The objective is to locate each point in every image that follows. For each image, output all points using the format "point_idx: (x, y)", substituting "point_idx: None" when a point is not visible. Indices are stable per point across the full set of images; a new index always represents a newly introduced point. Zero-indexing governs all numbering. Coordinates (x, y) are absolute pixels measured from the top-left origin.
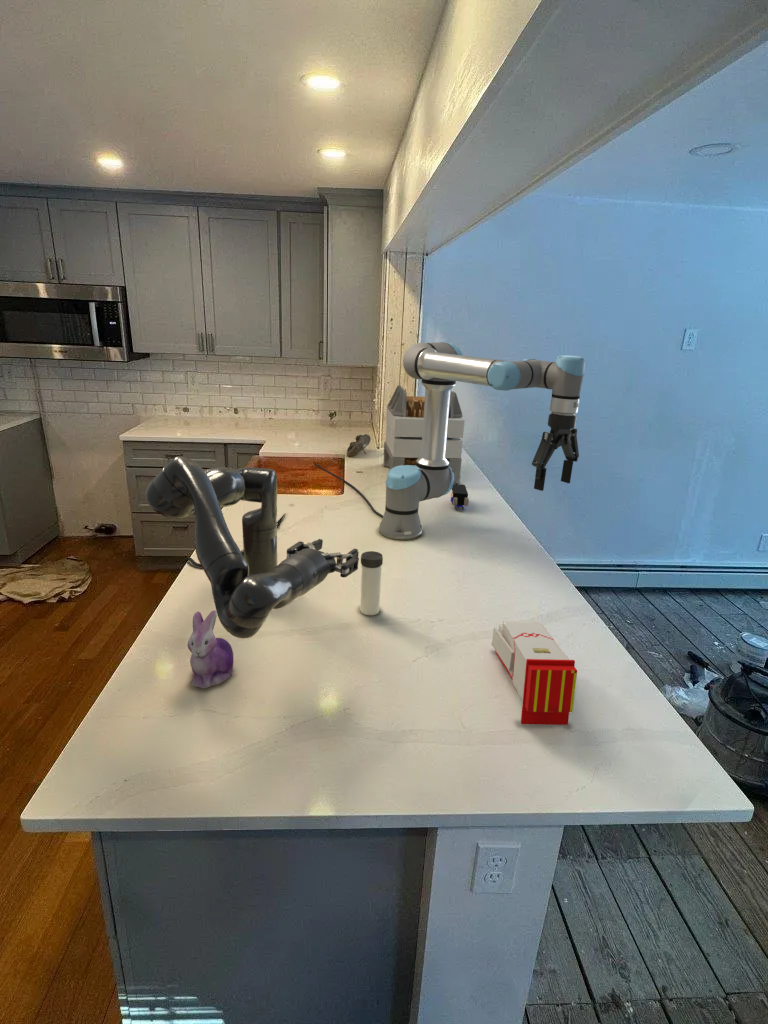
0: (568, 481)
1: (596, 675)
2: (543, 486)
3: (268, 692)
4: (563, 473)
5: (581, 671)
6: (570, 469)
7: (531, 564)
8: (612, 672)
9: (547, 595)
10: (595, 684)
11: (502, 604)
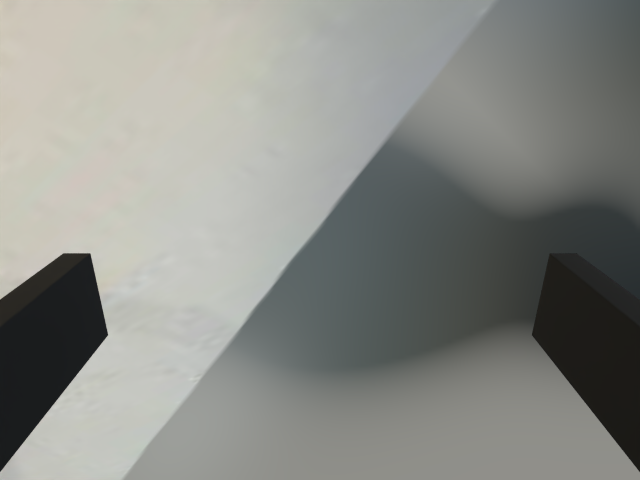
0: (542, 341)
1: (41, 461)
2: (79, 360)
3: None
4: (598, 320)
5: (24, 443)
6: (625, 447)
7: (355, 81)
8: (76, 471)
9: (209, 247)
10: (18, 470)
11: (49, 204)
